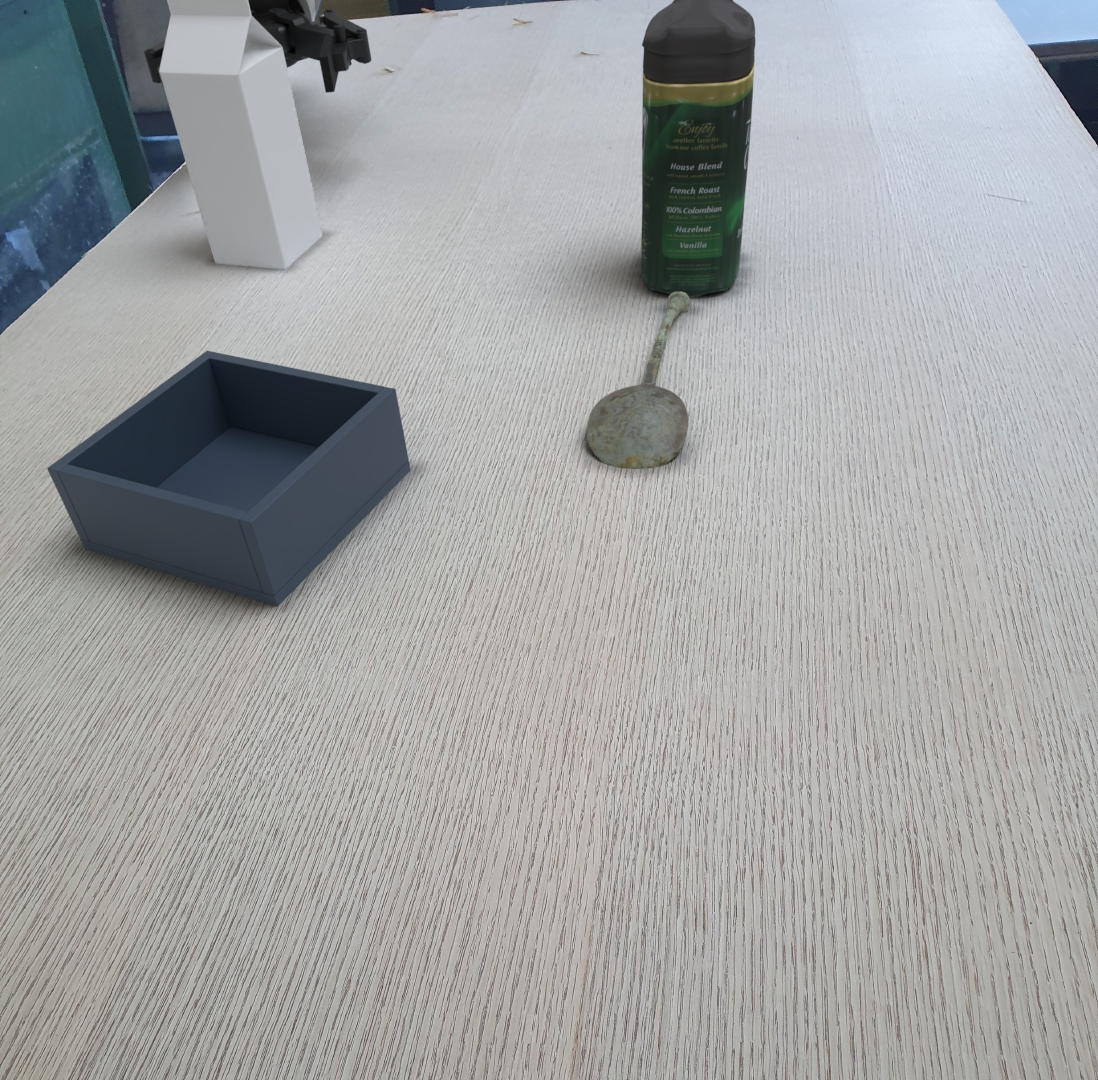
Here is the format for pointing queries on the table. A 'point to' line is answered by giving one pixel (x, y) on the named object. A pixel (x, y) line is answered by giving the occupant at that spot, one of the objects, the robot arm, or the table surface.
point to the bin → (236, 474)
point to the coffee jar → (695, 144)
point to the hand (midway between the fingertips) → (248, 82)
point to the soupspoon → (642, 413)
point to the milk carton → (239, 133)
